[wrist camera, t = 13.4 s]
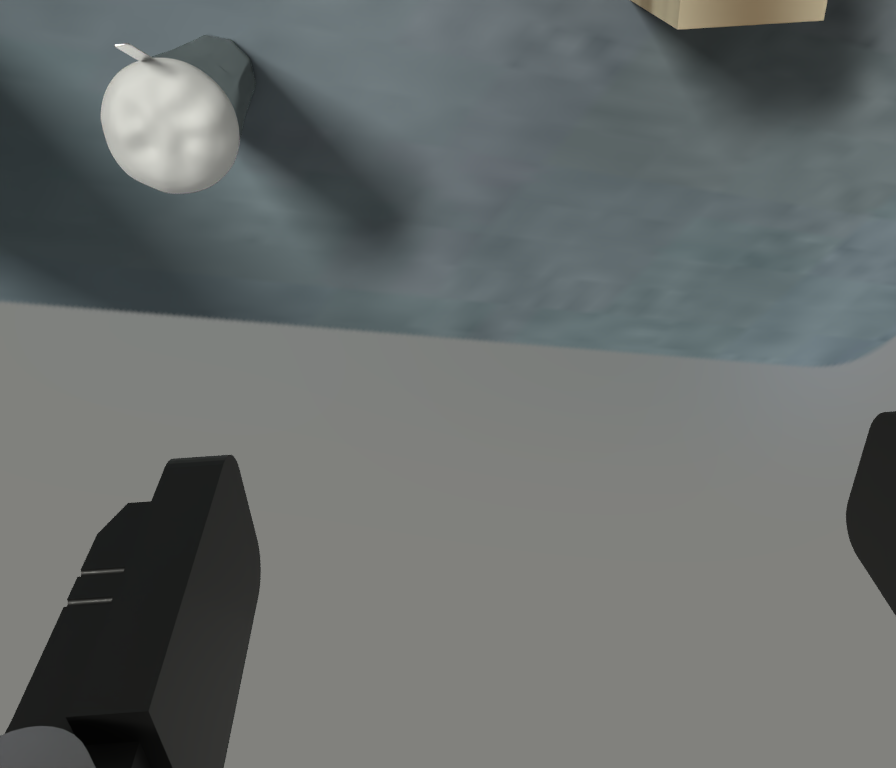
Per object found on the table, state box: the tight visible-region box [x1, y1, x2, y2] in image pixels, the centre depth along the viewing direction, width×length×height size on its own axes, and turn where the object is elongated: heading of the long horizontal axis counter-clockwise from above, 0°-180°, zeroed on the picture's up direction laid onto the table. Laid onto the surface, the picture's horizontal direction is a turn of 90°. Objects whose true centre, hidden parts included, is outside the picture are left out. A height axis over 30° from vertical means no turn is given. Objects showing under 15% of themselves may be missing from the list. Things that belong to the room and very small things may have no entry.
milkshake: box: [101, 35, 256, 194], centre depth 29 cm, size 5×5×10 cm
